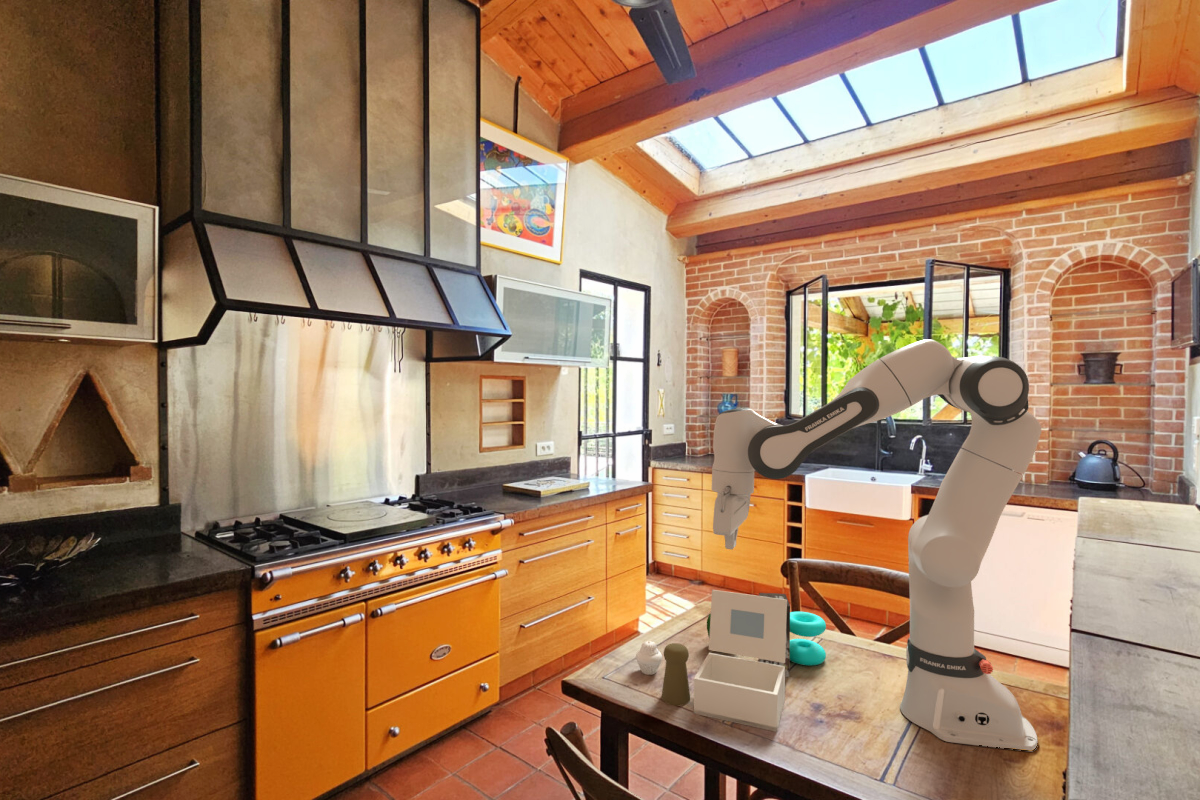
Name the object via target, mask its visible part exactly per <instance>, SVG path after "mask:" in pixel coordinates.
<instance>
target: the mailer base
mask: <svg viewBox="0 0 1200 800" xmlns="http://www.w3.org/2000/svg"><path fill="white" fill-rule="evenodd" d="M785 681H786V677H785V666H780V665H775V664H769V663H764V662H760V661H758V660H757V661H756V660H751V659H745V658H739V657H735V656H729V655H723V654H719V653H712V652H708V654H707V655H706V657H705V659H704V661H703V663H702V664H701V665H700V667H699V669H698V671H697V672H696V674H695V676H694V678H693V714H694V715H697V716H698V715H699V716H704V717H708V718H712V719H713V718H714V719H717V720H720V721H721V720H722V721H726V722H731V723H736V724H739V725H744V726H747V727H753V728H758V729H762V730H767V731H771V732H775V733H777V732H778V730H779V725H780V721H781V717H782V712H783V709H784V705H785V700H786V699H785V698H786V695H785V694H786V691H785V690H786V685H785V684H786V683H785Z"/></svg>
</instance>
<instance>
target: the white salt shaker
mask: <svg viewBox="0 0 1200 800" xmlns="http://www.w3.org/2000/svg"><path fill="white" fill-rule="evenodd" d="M635 659H636V662H637V665H638V667H639V669H640V671H641V673H642V674H644V675H647V676H650V675H651V676H652V675H655V674H656V673H657V671H658V669H659V667H660V665H662V661H663V654H662V653H661V651H660V650H659V649H658V647H657V644H656V643H655V642H654V641H647V640H646V641H643V643H642V644H641V647H640V649H639V650H637V651H636V653H635Z"/></svg>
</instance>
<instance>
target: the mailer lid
mask: <svg viewBox="0 0 1200 800" xmlns="http://www.w3.org/2000/svg"><path fill="white" fill-rule="evenodd" d="M710 605H711V606H710V614H711V618H710V636H708V640H709V641H708V650H709V651H714V652H719V653H725V654H730V655H737V656H743V657H748V658H753V659H764V660H770V661H775V662H781V663H785V651H786V618H787V600H785V599H778V598H770V597H763V596H759V595H755V594H747V593H740V592H731V591H725V590H717V589H711V603H710Z"/></svg>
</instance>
